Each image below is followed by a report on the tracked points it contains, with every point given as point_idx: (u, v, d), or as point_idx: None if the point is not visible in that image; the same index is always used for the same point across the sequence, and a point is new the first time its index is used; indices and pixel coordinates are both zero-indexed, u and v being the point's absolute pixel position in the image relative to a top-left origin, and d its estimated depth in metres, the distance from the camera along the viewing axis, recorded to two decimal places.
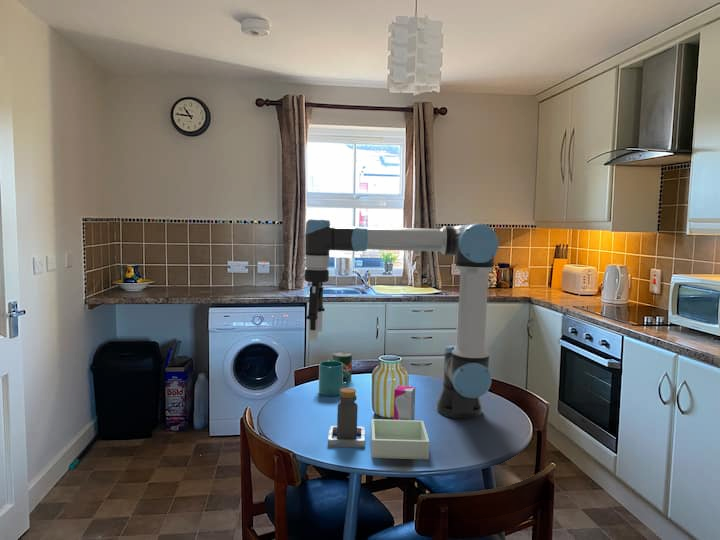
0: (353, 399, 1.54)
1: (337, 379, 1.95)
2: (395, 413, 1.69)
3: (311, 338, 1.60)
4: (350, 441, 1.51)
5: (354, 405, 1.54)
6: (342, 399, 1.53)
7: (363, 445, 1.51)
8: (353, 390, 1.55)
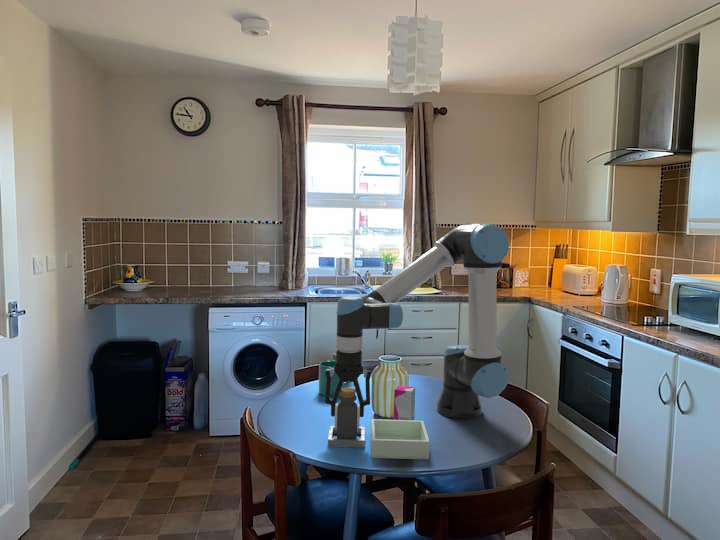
0: (353, 399, 1.54)
1: (337, 379, 1.95)
2: (395, 413, 1.69)
3: None
4: (350, 441, 1.51)
5: (354, 405, 1.54)
6: (342, 399, 1.53)
7: (363, 445, 1.51)
8: (353, 390, 1.55)
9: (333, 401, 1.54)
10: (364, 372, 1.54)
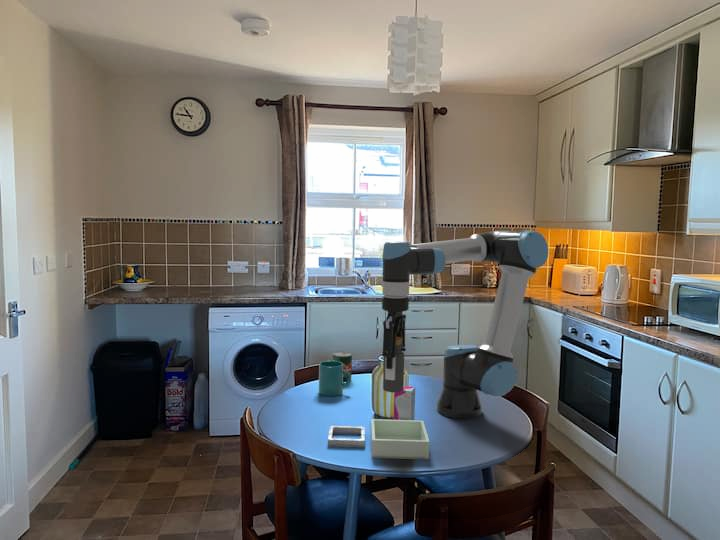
0: None
1: (337, 379, 1.95)
2: (395, 413, 1.69)
3: (388, 377, 1.48)
4: (350, 441, 1.51)
5: None
6: (399, 347, 1.49)
7: (363, 445, 1.51)
8: (397, 337, 1.52)
9: (393, 352, 1.47)
10: None
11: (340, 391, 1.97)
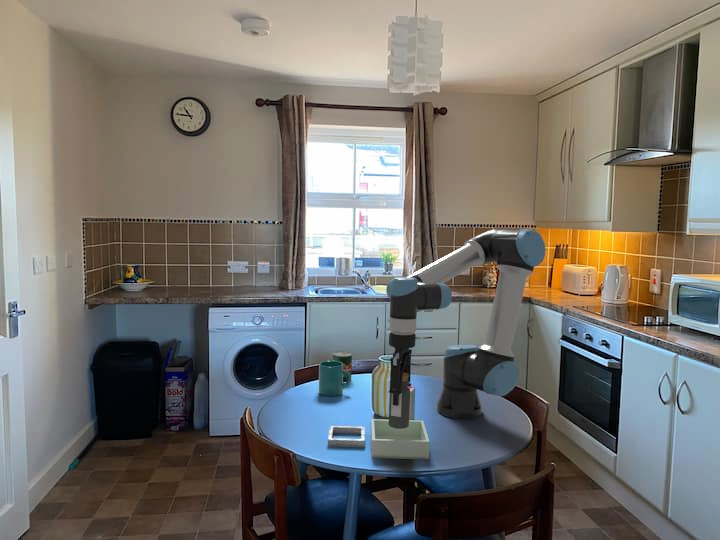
0: None
1: (337, 379, 1.95)
2: None
3: (394, 413, 1.48)
4: (350, 441, 1.51)
5: None
6: (405, 383, 1.49)
7: (363, 445, 1.51)
8: (403, 372, 1.52)
9: (400, 389, 1.47)
10: None
11: (340, 391, 1.97)
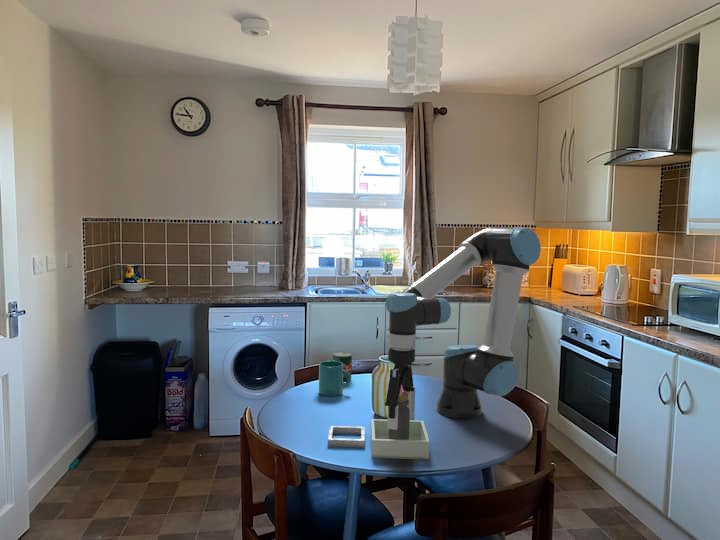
0: None
1: (337, 379, 1.95)
2: None
3: (390, 426, 1.45)
4: (350, 441, 1.51)
5: None
6: (405, 403, 1.49)
7: (363, 445, 1.51)
8: (402, 392, 1.53)
9: (396, 402, 1.44)
10: (407, 364, 1.55)
11: (340, 391, 1.97)
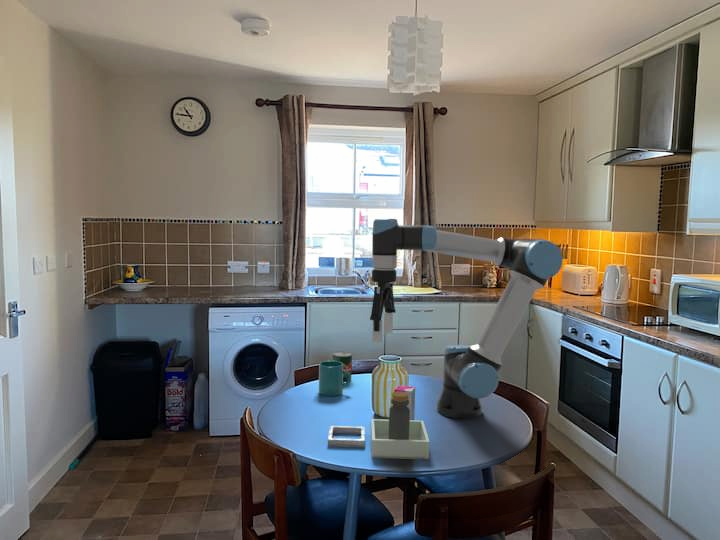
0: None
1: (337, 379, 1.95)
2: None
3: (375, 339, 1.57)
4: (350, 441, 1.51)
5: None
6: (405, 404, 1.49)
7: (363, 445, 1.51)
8: (402, 392, 1.52)
9: (381, 316, 1.56)
10: None
11: (340, 391, 1.97)
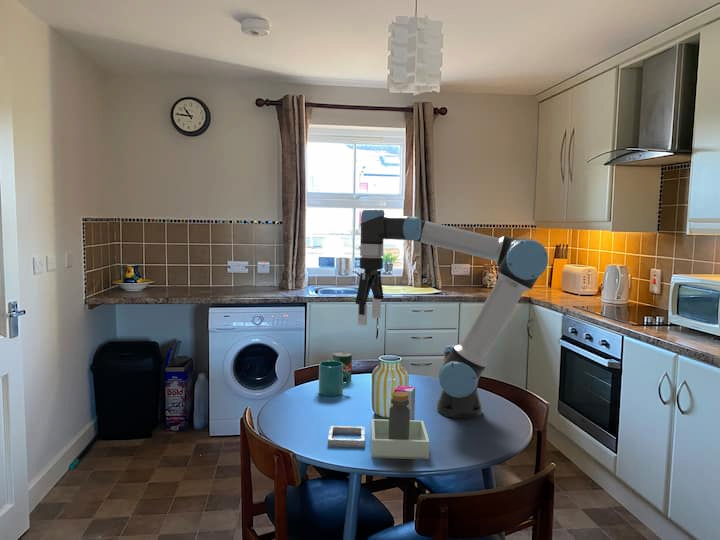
0: None
1: (337, 379, 1.95)
2: None
3: (360, 322, 1.68)
4: (350, 441, 1.51)
5: None
6: (405, 404, 1.49)
7: (363, 445, 1.51)
8: (402, 392, 1.52)
9: (366, 300, 1.67)
10: None
11: (340, 391, 1.97)
